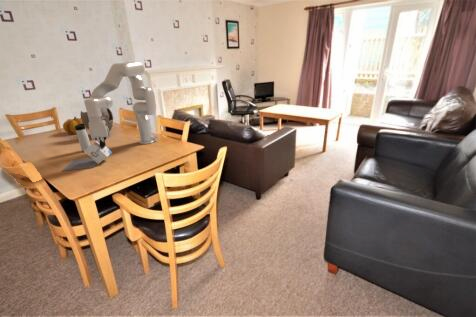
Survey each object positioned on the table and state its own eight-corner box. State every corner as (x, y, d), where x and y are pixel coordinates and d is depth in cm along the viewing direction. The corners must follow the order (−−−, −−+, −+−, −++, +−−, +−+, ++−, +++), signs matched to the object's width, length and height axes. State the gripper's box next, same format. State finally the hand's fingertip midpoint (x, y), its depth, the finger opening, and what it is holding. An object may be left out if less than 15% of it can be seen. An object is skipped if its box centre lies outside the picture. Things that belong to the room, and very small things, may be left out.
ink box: (103, 159, 162) (89, 146, 158) (112, 152, 161) (98, 139, 157) (97, 164, 154) (83, 151, 150) (107, 156, 153) (92, 143, 149)
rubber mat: (102, 157, 166) (102, 156, 166) (93, 167, 150) (93, 167, 149) (74, 159, 163) (74, 159, 163) (61, 171, 147) (61, 170, 147)
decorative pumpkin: (76, 129, 240) (71, 114, 234) (96, 129, 236) (92, 114, 231) (59, 135, 221) (54, 119, 215) (81, 135, 218) (76, 119, 212)
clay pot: (122, 133, 219) (115, 106, 209) (96, 141, 200) (87, 111, 191) (107, 130, 231) (100, 104, 221) (81, 137, 213) (72, 109, 203)
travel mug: (94, 149, 182) (86, 123, 174) (86, 152, 176) (78, 126, 168) (88, 148, 184) (80, 123, 176) (80, 151, 178) (72, 125, 170)
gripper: (110, 117, 152) (117, 144, 159) (85, 118, 150) (92, 146, 157) (107, 119, 145) (114, 148, 152) (80, 121, 143) (88, 150, 150)
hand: (103, 147), depth 154 cm, fingers closed
